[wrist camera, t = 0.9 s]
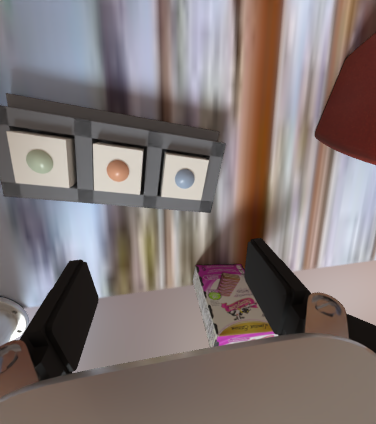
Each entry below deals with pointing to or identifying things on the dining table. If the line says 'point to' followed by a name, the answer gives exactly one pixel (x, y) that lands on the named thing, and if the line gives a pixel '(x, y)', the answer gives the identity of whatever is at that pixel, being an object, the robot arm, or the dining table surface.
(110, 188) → the key terracotta
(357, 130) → the plant pot
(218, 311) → the candy bar box
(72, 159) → the key sage
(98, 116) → the grey button panel
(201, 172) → the key slate
